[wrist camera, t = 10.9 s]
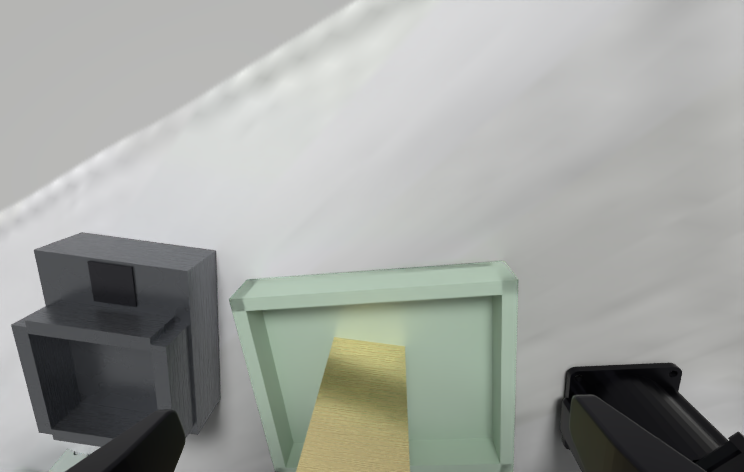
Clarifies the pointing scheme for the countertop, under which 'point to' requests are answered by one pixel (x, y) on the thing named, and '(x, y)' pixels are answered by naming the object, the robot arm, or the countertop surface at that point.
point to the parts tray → (396, 327)
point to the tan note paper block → (359, 411)
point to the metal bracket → (67, 461)
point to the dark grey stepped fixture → (120, 337)
